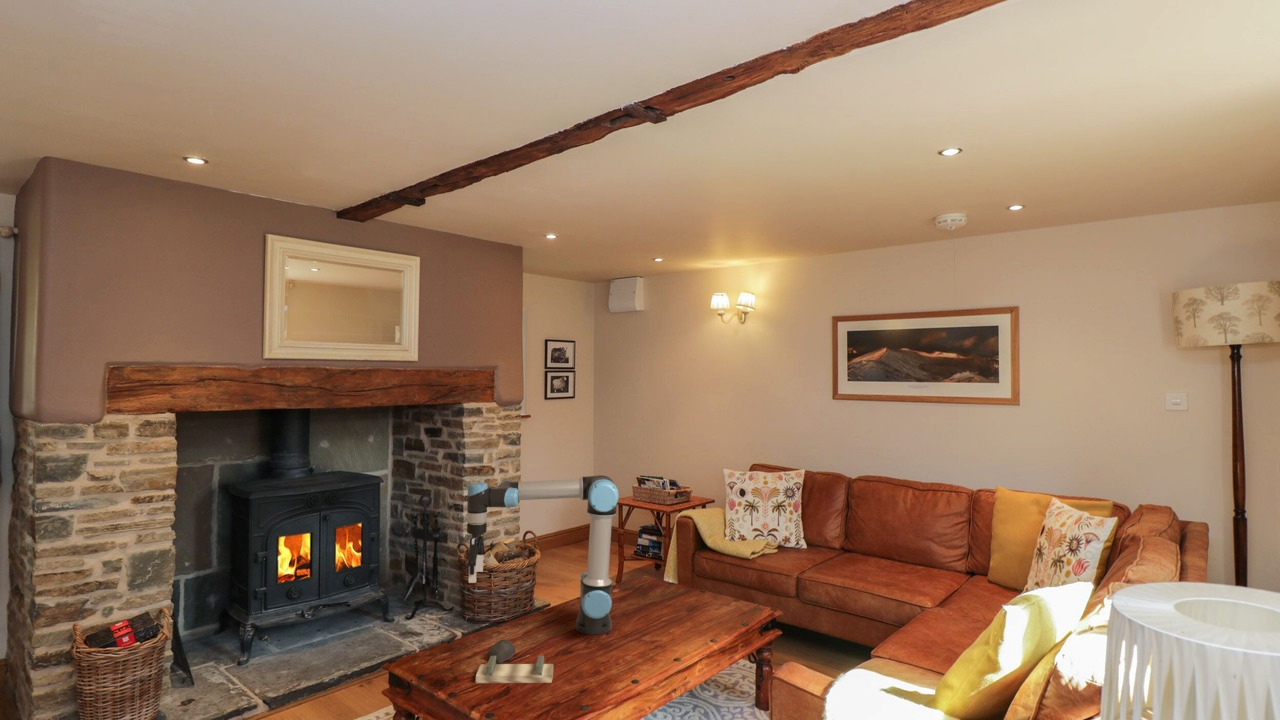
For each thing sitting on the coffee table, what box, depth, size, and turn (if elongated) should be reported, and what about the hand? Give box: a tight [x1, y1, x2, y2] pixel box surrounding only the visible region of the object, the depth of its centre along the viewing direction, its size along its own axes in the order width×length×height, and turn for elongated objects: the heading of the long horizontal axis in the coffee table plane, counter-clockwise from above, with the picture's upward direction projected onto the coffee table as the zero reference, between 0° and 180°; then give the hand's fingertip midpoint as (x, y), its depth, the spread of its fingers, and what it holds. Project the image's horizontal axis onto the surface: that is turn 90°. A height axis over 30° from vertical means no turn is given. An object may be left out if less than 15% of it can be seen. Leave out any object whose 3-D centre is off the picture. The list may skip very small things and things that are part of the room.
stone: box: [487, 639, 516, 664], centre depth 254 cm, size 10×8×10 cm
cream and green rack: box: [475, 655, 555, 684], centre depth 240 cm, size 26×9×6 cm, turn 93°
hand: (475, 576), depth 266 cm, fingers open, 13 cm apart
